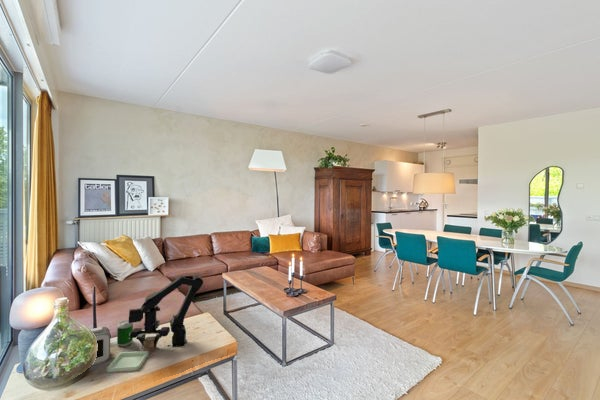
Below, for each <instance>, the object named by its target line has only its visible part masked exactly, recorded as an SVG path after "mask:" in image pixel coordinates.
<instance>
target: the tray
mask: <svg viewBox="0 0 600 400" xmlns="http://www.w3.org/2000/svg"><path fill="white" fill-rule="evenodd" d="M149 355H150V352H149V351H143V350H142V351H141V350H140V351H138V350H137V351H124V352H123V351H121V352H119V353H118V354H117V355H116V356H115V358H114V359H113V360H112V362H111V363H110V364H109V365H108V366H107V367H106V368H105V369H106V370H105V371H106V372H105V373H116V372H132V371H139V370H140V368H141V366H142V365H143V364H144V363H145V360H146V359H147V358H148V356H149Z"/></svg>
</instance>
